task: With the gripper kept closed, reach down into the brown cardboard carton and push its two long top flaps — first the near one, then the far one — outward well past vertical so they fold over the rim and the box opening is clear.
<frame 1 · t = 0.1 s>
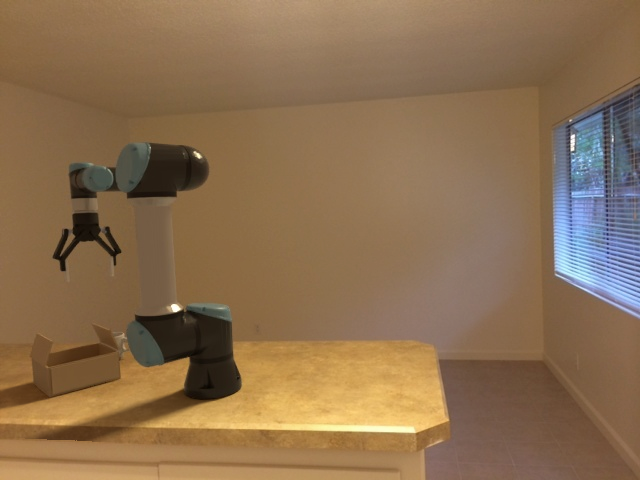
hand: (90, 278, 158), 28 cm above the counter, fingers open, 13 cm apart
carton: (77, 381, 144), on the counter
flap near: (40, 349, 138), point 12 cm above the counter, hinge at -20.0°
flap far: (105, 336, 150), point 12 cm above the counter, hinge at -20.0°
cup: (117, 358, 166), on the counter
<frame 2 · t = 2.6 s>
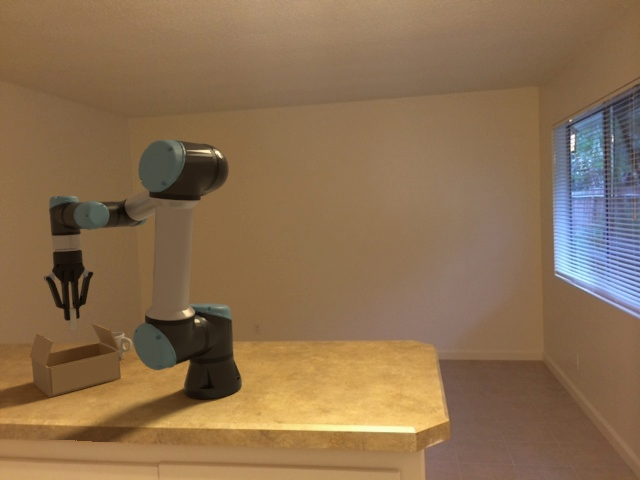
hand: (72, 330, 144), 15 cm above the counter, fingers closed
nothing on the counter moved.
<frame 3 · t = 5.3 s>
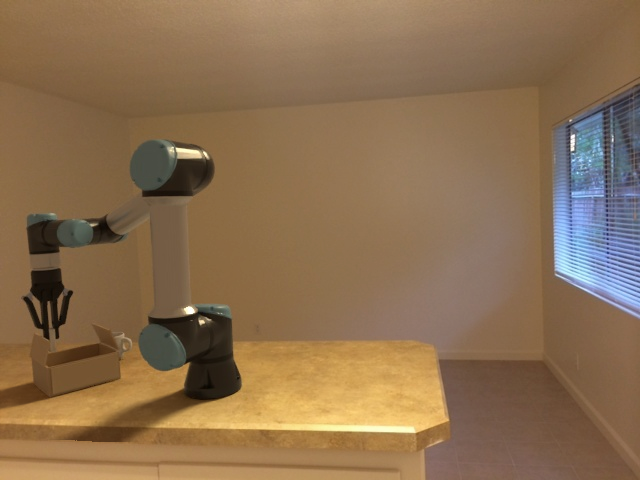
hand: (52, 351, 140), 10 cm above the counter, fingers closed
flap near: (39, 349, 137), point 12 cm above the counter, hinge at -14.1°, touching gripper
everything else where it was.
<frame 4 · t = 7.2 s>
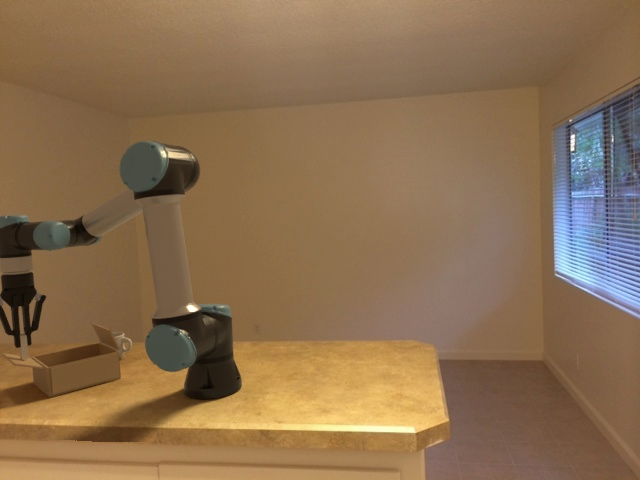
hand: (24, 358, 135), 10 cm above the counter, fingers closed
flap near: (22, 360, 134), point 9 cm above the counter, hinge at 68.2°, touching gripper
everything else where it was.
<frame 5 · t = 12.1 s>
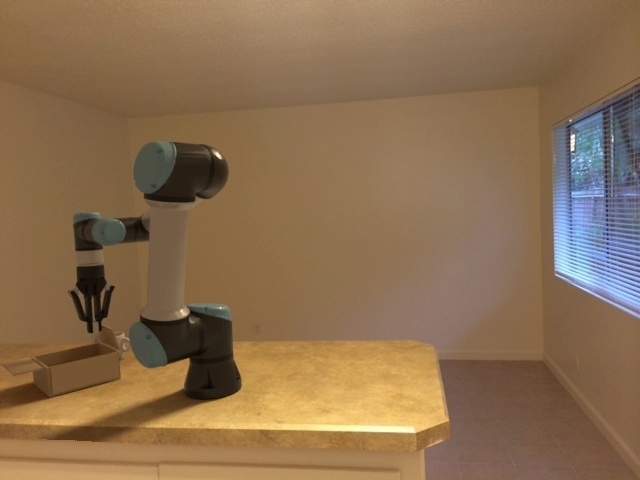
hand: (95, 343, 148), 10 cm above the counter, fingers closed
flap near: (21, 366, 134), point 8 cm above the counter, hinge at 90.1°
flap far: (106, 335, 150), point 12 cm above the counter, hinge at -14.2°, touching gripper
everything else where it was.
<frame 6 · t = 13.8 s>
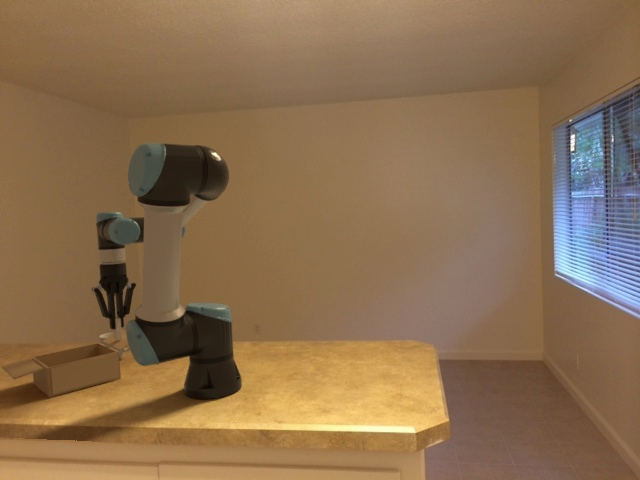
hand: (117, 338, 152), 10 cm above the counter, fingers closed
flap near: (21, 367, 134), point 7 cm above the counter, hinge at 97.7°
flap far: (121, 339, 153), point 10 cm above the counter, hinge at 65.9°, touching gripper
everything else where it was.
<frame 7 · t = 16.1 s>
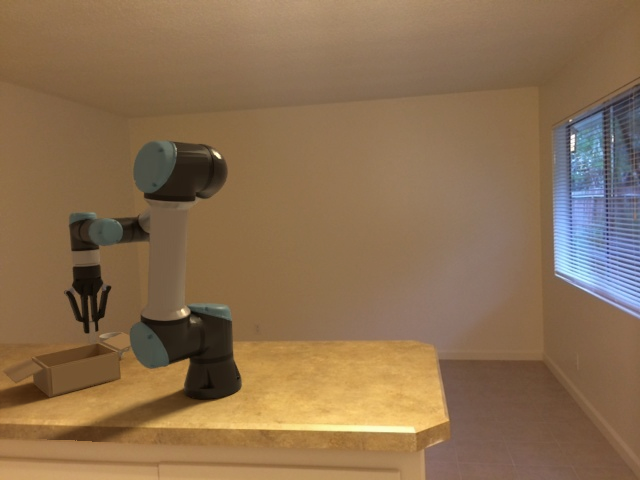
hand: (92, 343, 147), 10 cm above the counter, fingers closed
flap near: (22, 370, 135), point 7 cm above the counter, hinge at 107.2°
flap far: (122, 341, 153), point 9 cm above the counter, hinge at 78.4°
everything else where it was.
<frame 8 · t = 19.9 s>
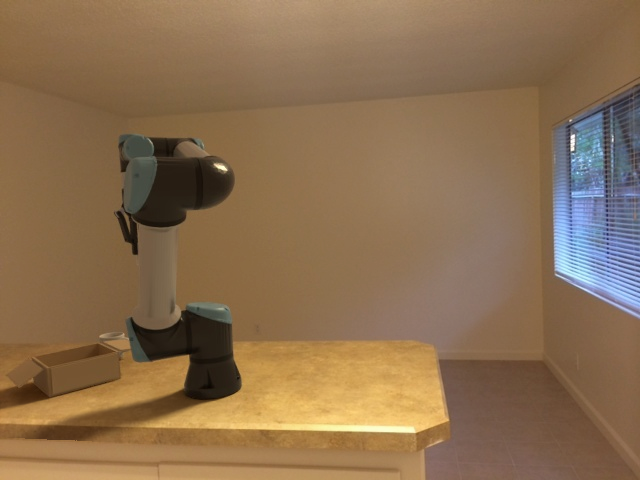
hand: (140, 265, 150), 32 cm above the counter, fingers closed
flap near: (24, 372, 135), point 6 cm above the counter, hinge at 119.7°
flap far: (122, 344, 153), point 8 cm above the counter, hinge at 95.3°
everything else where it was.
at the end: flap near at +120° (first picture: -20°); flap far at +96° (first picture: -20°) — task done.
